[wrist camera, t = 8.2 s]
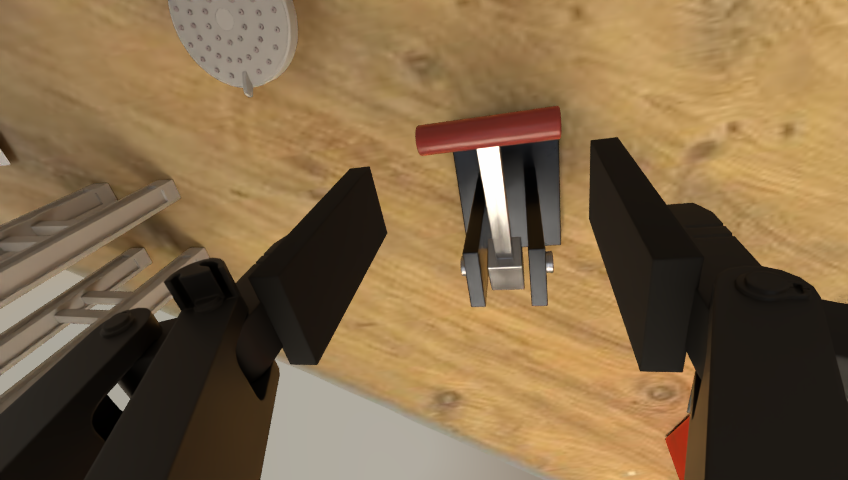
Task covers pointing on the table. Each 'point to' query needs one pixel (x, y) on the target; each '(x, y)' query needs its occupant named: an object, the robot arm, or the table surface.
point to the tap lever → (494, 173)
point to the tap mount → (512, 213)
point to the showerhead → (238, 38)
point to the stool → (64, 246)
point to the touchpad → (3, 159)
